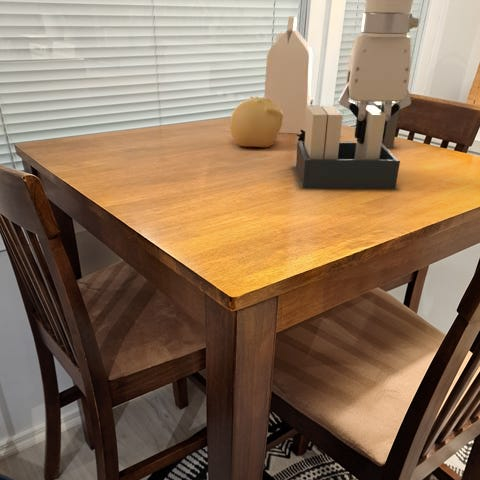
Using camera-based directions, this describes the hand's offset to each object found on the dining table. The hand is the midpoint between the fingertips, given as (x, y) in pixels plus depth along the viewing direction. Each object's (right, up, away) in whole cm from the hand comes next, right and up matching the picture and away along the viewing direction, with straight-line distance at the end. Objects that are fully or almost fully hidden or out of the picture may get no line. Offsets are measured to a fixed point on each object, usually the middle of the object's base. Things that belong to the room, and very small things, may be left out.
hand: (368, 141), depth 91 cm
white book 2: (-7, -6, +4) cm, 10 cm away
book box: (-4, -6, +4) cm, 8 cm away
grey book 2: (+11, +9, +28) cm, 31 cm away
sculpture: (-20, +9, +28) cm, 35 cm away
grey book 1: (+8, +9, +28) cm, 30 cm away
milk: (-11, +19, +45) cm, 50 cm away
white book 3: (0, -6, +4) cm, 7 cm away
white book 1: (-10, -6, +4) cm, 12 cm away
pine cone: (-5, +9, +29) cm, 30 cm away
